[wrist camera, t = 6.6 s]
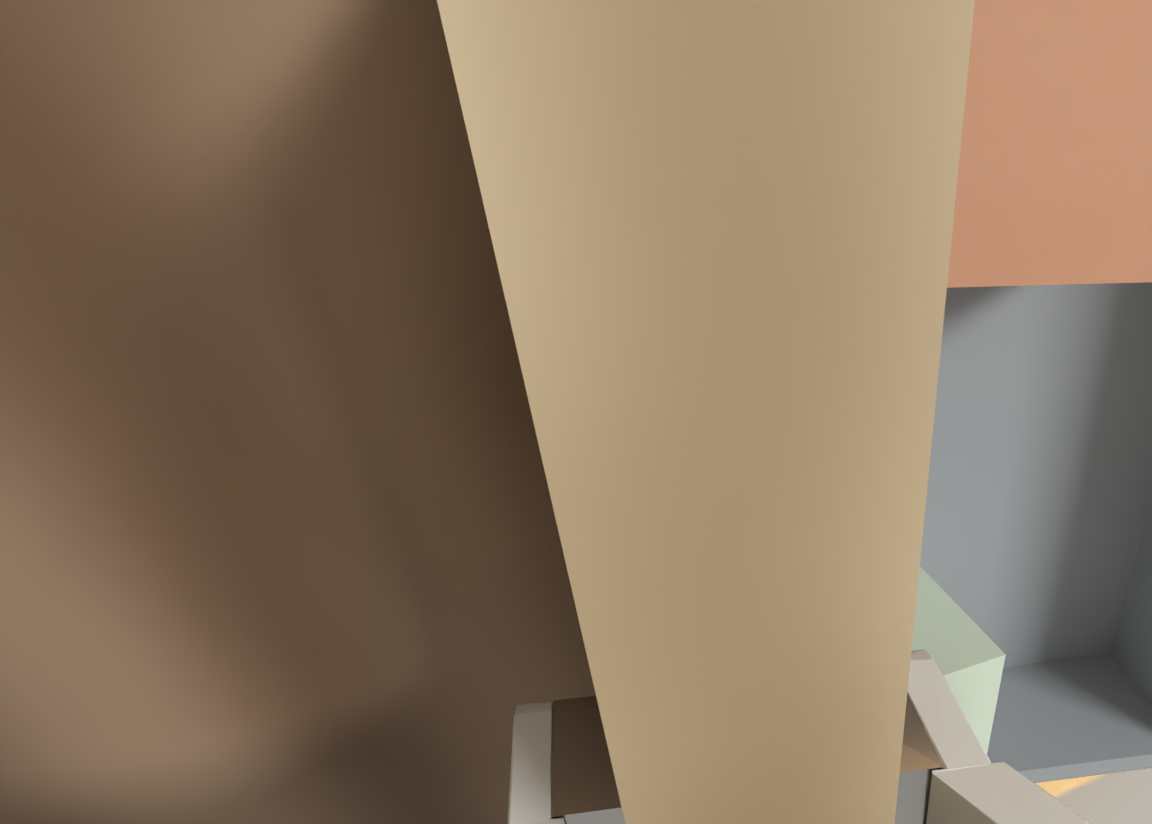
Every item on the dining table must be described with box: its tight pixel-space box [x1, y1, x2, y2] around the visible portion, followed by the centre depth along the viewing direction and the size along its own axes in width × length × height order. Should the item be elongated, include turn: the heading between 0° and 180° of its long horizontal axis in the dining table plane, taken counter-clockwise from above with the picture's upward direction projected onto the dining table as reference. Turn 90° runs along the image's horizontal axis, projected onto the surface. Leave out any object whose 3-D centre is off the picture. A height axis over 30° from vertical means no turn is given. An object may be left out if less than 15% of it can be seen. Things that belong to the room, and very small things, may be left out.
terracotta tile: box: [947, 0, 1152, 288], centre depth 12 cm, size 5×5×2 cm
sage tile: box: [911, 566, 1006, 754], centre depth 17 cm, size 5×5×2 cm
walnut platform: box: [0, 0, 596, 824], centre depth 15 cm, size 16×22×6 cm
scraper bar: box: [437, 0, 975, 824], centre depth 9 cm, size 2×20×4 cm, turn 10°
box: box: [920, 282, 1152, 783], centre depth 15 cm, size 11×22×4 cm, turn 10°
